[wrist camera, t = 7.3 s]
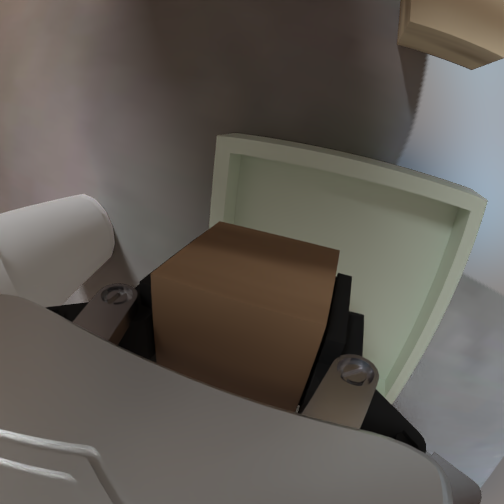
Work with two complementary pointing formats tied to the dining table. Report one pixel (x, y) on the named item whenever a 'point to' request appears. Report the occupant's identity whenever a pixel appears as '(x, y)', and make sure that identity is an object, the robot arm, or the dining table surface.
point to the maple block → (454, 30)
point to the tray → (359, 233)
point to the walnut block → (244, 311)
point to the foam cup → (53, 248)
